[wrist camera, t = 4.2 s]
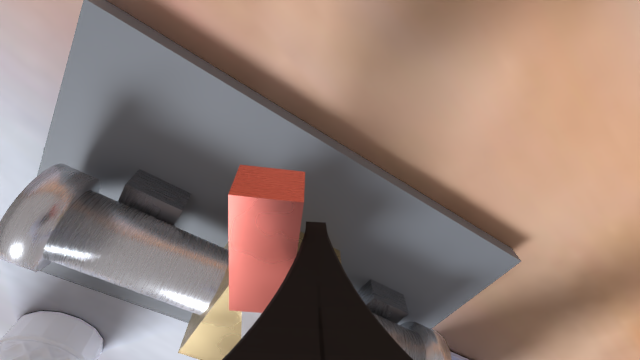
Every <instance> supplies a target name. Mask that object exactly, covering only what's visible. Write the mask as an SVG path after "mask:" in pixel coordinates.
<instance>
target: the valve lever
mask: <svg viewBox="0 0 640 360" xmlns="http://www.w3.org/2000/svg"><path fill="white" fill-rule="evenodd" d="M304 189H305V172H303V171H294V170H285V169H275V168H266V167H257V166H248V165H240V166H239V168H238V171H237V173H236V176H235V178H234V181H233V184H232V186H231V189H230V191H229V194H228V236H229V311H242V324H241V338H242V337H243V336H244V335H245V334H246V333H247V331H248V330H249V329H250V328H251V327H252V326H253V324H254V323H255V322H256V320H257V319H258V318H259V317H260V315H261V314H262V312H263V311H264V310H265V308H266V307H267V306H268V304H269V303H270V301H271V300H272V298H273V297H274V295H275V294H276V292H277V291H278V289H279V287H280V286H281V284H282V282H283V281H284V279H285V277H286V275H287V273H288V271H289V270H290V268H291V266H292V264H293V262H294V260H295V257H296V255H297V249H298V242H299V235H300V228H301V220H302V213H303V206H304Z"/></svg>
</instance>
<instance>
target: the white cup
mask: <svg viewBox="0 0 640 360" xmlns="http://www.w3.org/2000/svg"><path fill="white" fill-rule="evenodd" d="M102 350H103V338H102V337H101V336H100V334H99V333H98V331H97V330H96V329H95V328H94V327H92V326H91V325H89V324H88V323H86V322H85V321H83V320H81V319H79V318H77V317H74V316H71V315H68V314H64V313H61V312H51V311H37V312H34V313H30V314H26V315H23V316H22V317H21V318H20V319H19V320H18V321H17V322H16V323H15V324H14V325H13V326H12V328H11V329H10V330H9V331H8V332H7V333H6V334H5V335H4V336H3V337H2V338H1V339H0V360H98V359H99V357H100V355H101V353H102Z"/></svg>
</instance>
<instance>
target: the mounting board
mask: <svg viewBox="0 0 640 360" xmlns="http://www.w3.org/2000/svg"><path fill="white" fill-rule="evenodd" d="M60 163H63V164H65V165H68V166H70V167H72V168H74V169H77V170H79V171H81V172H83V173H85V174H88V175H90V176H92V177H94V178H97V179H99V180H100V189H99V193H100V194H102V195H104V196H106V197H109V198H111V199H113V200H116V201H118V200H119V198H120V195H121V193H122V191H123V188H124V186H125V184H126V183H127V182H128V181H129V180H130V179H131V178H132V176H133V175H134V174H135V173H136V172H137V171H138V170H139V169H141V170H143V171H145V172H147V173H149V174H151V175H153V176H156V177H158V178H160V179H162V180H164V181H166V182H168V183H170V184H172V185H174V186H177V187H179V188H181V189H183V190H185V191H187V192H189V193H191V196H190V198H189V199H188V201H187V203H186V205H185V207H184V208H183V210H182V212H181V214H180V216H179V217H178V219H177V221H176V223H175V224H174V226H175V227H177V228H180V229H182V230H184V231H186V232H189V233H191V234H193V235H195V236H198V237H200V238H202V239H205V240H207V241H209V242H211V243H214V244H216V245H218V246H221V247H223V248H224V247H225V245H226V244H227V242H228V241H229V236H228V194H229V191H230V189H231V186H232V184H233V181H234V178H235V176H236V173H237V171H238V168H239V166H240V165H248V166H257V167H266V168H275V169H285V170H294V171H303V172H305V189H304V206H303V213H302V220H301V228H300V231H301V232H303V233H305V228H306V221H307V222H325V223H326V227H327V233H328V236H329V239H330V241H331V244H332V246H333V248H335V249H337V250H339V251H340V256H341V265H342V267H343V269H344V271H345V272H346V274H347V276H348V278H349V279H350V281H351V283H352V285H353V286H354V288H355V289H356V291H358V290H359V289H360V288H361V287H363V286H364V285H365V284H366V283H367V282H368V281H369V280H370V279H372V280H374V281H376V282H378V283H380V284H382V285H384V286H386V287H389V288H391V289H393V290H395V291H397V292H399V293H401V294H403V295H404V299H405V302H406V306H407V309H408V313H409V314H408V315H407V316H406V317H404V318H403V319H402V320H401V321H400V322H398V323H397V324H399V325H401V324H403V323H405V322H410V321H411V322H416V323H419V324H421V325H423V326H425V327H428V328H430V329H432V328H433V327H434V326H436V325H437V324H438V323H440V322H441V321H442V320H444V319H445V318H446V317H448V316H449V315H450V314H452V313H453V312H454V311H456V310H457V309H458V308H460V307H461V306H462V305H464V304H465V303H466V302H468V301H469V300H470V299H472V298H473V297H474V296H476V295H477V294H478V293H480V292H481V291H482V290H484V289H485V288H486V287H488V286H489V285H490V284H492V283H493V282H494V281H496V280H497V279H498V278H500V277H501V276H502V275H504V274H505V273H506V272H508V271H509V270H510V269H512V268H513V267H514V266H516V265H517V264H518V263H520V262H521V260H520V259H519V258H518V256H517V255H516V254H515V252H514V251H513V249H512V248H510V247H508V246H507V245H505V244H503V243H502V242H500V241H499V240H497V239H495V238H494V237H492V236H490V235H489V234H487V233H485V232H484V231H482V230H481V229H479V228H477V227H476V226H474V225H472V224H471V223H469V222H467V221H466V220H464V219H463V218H461V217H459V216H458V215H456V214H454V213H453V212H451V211H449V210H448V209H446V208H445V207H443V206H441V205H440V204H438V203H436V202H435V201H433V200H431V199H430V198H428V197H427V196H425V195H423V194H422V193H420V192H418V191H417V190H415V189H414V188H412V187H410V186H409V185H407V184H405V183H404V182H402V181H400V180H399V179H397V178H396V177H394V176H392V175H391V174H389V173H387V172H386V171H384V170H382V169H381V168H379V167H378V166H376V165H374V164H373V163H371V162H369V161H368V160H366V159H364V158H363V157H361V156H360V155H358V154H356V153H355V152H353V151H351V150H350V149H348V148H346V147H345V146H343V145H342V144H340V143H338V142H337V141H335V140H333V139H332V138H330V137H328V136H327V135H325V134H324V133H322V132H320V131H319V130H317V129H315V128H314V127H312V126H311V125H309V124H307V123H306V122H304V121H302V120H301V119H299V118H297V117H296V116H294V115H293V114H291V113H289V112H288V111H286V110H284V109H283V108H281V107H279V106H278V105H276V104H275V103H273V102H271V101H270V100H268V99H266V98H265V97H263V96H261V95H260V94H258V93H257V92H255V91H253V90H252V89H250V88H248V87H247V86H245V85H243V84H242V83H240V82H239V81H237V80H235V79H234V78H232V77H230V76H229V75H227V74H225V73H224V72H222V71H221V70H219V69H217V68H216V67H214V66H212V65H211V64H209V63H207V62H206V61H204V60H203V59H201V58H199V57H198V56H196V55H194V54H193V53H191V52H190V51H188V50H186V49H185V48H183V47H181V46H180V45H178V44H176V43H175V42H173V41H172V40H170V39H168V38H167V37H165V36H163V35H162V34H160V33H158V32H157V31H155V30H154V29H152V28H150V27H149V26H147V25H145V24H144V23H142V22H140V21H139V20H137V19H136V18H134V17H132V16H131V15H129V14H127V13H126V12H124V11H122V10H121V9H119V8H118V7H116V6H114V5H113V4H111V3H109V2H108V1H106V0H84V1H83V5H82V8H81V12H80V16H79V20H78V23H77V27H76V31H75V35H74V39H73V42H72V46H71V50H70V54H69V57H68V61H67V65H66V69H65V73H64V76H63V80H62V84H61V88H60V92H59V95H58V99H57V103H56V107H55V110H54V114H53V118H52V122H51V126H50V129H49V133H48V137H47V141H46V144H45V148H44V152H43V156H42V160H41V163H40V167H39V171H38V175H40V174H41V173H42V172H43V171H45V170H46V169H48V168H49V167H51V166H53V165H56V164H60ZM38 175H37V176H38ZM40 271H42V272H45V273H47V274H50V275H53V276H56V277H59V278H62V279H65V280H67V281H70V282H73V283H76V284H79V285H82V286H84V287H87V288H90V289H93V290H96V291H99V292H102V293H104V294H107V295H110V296H113V297H116V298H119V299H121V300H124V301H127V302H130V303H133V304H136V305H139V306H141V307H144V308H147V309H150V310H153V311H156V312H158V313H161V314H164V315H167V316H170V317H173V318H176V319H178V320H181V321H184V322H187V323H189V321H190V318H191V315H192V312H190V311H187V310H184V309H181V308H179V307H176V306H173V305H170V304H168V303H165V302H162V301H159V300H157V299H154V298H151V297H148V296H146V295H143V294H140V293H137V292H135V291H132V290H129V289H126V288H124V287H121V286H118V285H115V284H113V283H110V282H107V281H104V280H102V279H99V278H96V277H93V276H91V275H88V274H85V273H82V272H79V271H77V270H74V269H71V268H68V267H66V266H63V265H60V264H57V263H55V262H51V263H50V264H49V265H47V266H46V267H45V268H43V269H42V270H40Z"/></svg>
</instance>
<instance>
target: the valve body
mask: <svg viewBox="0 0 640 360" xmlns="http://www.w3.org/2000/svg"><path fill="white" fill-rule="evenodd" d="M99 189H100V180H99V179H97V178H94V177H92V176H90V175H88V174H85V173H83V172H81V171H79V170H77V169H74V168H72V167H70V166H68V165H65V164H63V163H60V164H56V165H53V166H51V167H49V168H48V169H46V170H45V171H43V172H42V173H41V174H40V175H38V176H37V177H36V178H35V179H34V180H33V181H32V182H31V183H30V184H29V185H28V186H27V187H26V188H25V189H24V190H23V191H22V192H21V193H20V194H19V196H18V197H17V198H16V199H15V201H14V202H13V203H12V204H11V206H10V207H9V209H8V210H7V211H6V213H5V215H4V216H3V218H2V219H1V221H0V259H1V260H4V261H7V262H10V263H13V264H15V265H18V266H21V267H24V268H27V269H30V270H33V271H40V270H42V269H43V268H45V267H46V266H47V265H49V264H50V263H51V262H55V263H57V264H60V265H63V266H66V267H68V268H71V269H74V270H77V271H79V272H82V273H85V274H88V275H91V276H93V277H96V278H99V279H102V280H104V281H107V282H110V283H113V284H115V285H118V286H121V287H124V288H126V289H129V290H132V291H135V292H137V293H140V294H143V295H146V296H148V297H151V298H154V299H157V300H159V301H162V302H165V303H168V304H170V305H173V306H176V307H179V308H181V309H184V310H187V311H190V312H192V315H191V318H190V321H189V324H188V327H187V329H186V332H185V335H184V338H183V340H182V343H181V346H180V349H179V352H178V353H181V354H184V355H187V356H190V357H193V358H196V359H200V360H222V359H223V358H224V357H225V356H226V355H227V354H228V353H229V352H230V351H231V350H232V349H233V348H234V347H235V345H236V344H237V343H238V342H239V341H240V340H241V324H242V311H229V241H228V242H227V244H226V245H225V247H224V248H223V247H221V246H218V245H216V244H214V243H211V242H209V241H207V240H205V239H202V238H200V237H198V236H195V235H193V234H191V233H189V232H186V231H184V230H182V229H180V228H177V227H175V226H174V224H175V223H176V221H177V219H178V217H179V216H180V214H181V212H182V210H183V208H184V207H185V205H186V203H187V201H188V199H189V198H190V196H191V193H189V192H187V191H185V190H183V189H181V188H179V187H177V186H174V185H172V184H170V183H168V182H166V181H164V180H162V179H160V178H158V177H156V176H153V175H151V174H149V173H147V172H145V171H143V170H141V169H139V170H138V171H137V172H136V173H135V174H134V175H133V176H132V178H131V179H130V180H129V181H128V182H127V183H126V184H125V186H124V188H123V191H122V193H121V195H120V198H119V200H118V201H116V200H113V199H111V198H109V197H106V196H104V195H102V194H100V193H99ZM304 234H305V233H303V232H301V231H300V235H299V242H298V249H297V253H298V251H299V248H300V246H301V243H302V240H303V237H304ZM334 251H335V253H336V255H337V257H338V259H339V261H340V263H341V256H340V251H339V250H337V249H335V248H334ZM357 292H358V294H359V295H360V297H361V298H362V300H363V301H364V303H365V304H366V306H367V307H368V308H369V310H370V311H371V312H372V314H373V315H374V316H375V318H376V319H377V320H378V321H379V322H380V324H381V325H382V326H383V327H384V328H385V329H386V331H387V332H388V333H389V334H390V335H391V337H392V338H393V339H394V340H395V341H396V342H397V343H398V344H399V346H400V347H401V348H402V349H403V350H404V351H405V352H406V353H407V354H408V355H409V356H410V357H411V358H412V359H413V360H451V354H450V350H449V347H448V345H447V343H446V341H445V339H444V338H443V337H442V336H441V335H440V334H439V333H438V332H436V331H434V330H432V329H430V328H428V327H425V326H423V325H421V324H419V323H416V322H411V321H410V322H405V323H403V324H401V325H399V324H397V323H398V322H400V321H401V320H402V319H403V318H404V317H406V316H407V315H408V314H409V313H408V309H407V306H406V302H405V299H404V295H403V294H401V293H399V292H397V291H395V290H393V289H391V288H389V287H386V286H384V285H382V284H380V283H378V282H376V281H374V280H372V279H370V280H369V281H368V282H367V283H366V284H365V285H364V286H363V287H361V288H360V289H359V290H358V291H357Z"/></svg>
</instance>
